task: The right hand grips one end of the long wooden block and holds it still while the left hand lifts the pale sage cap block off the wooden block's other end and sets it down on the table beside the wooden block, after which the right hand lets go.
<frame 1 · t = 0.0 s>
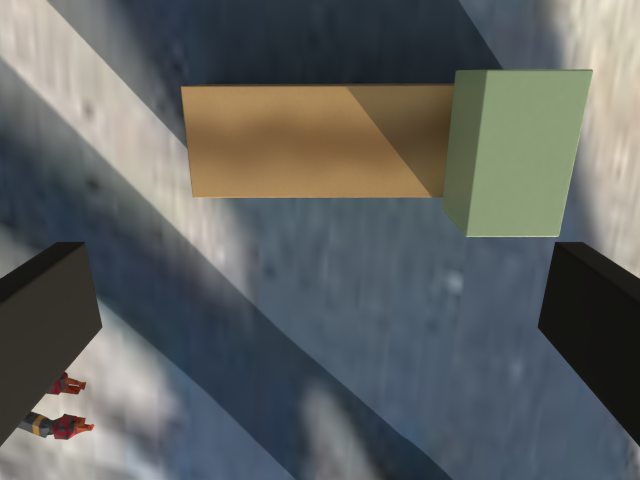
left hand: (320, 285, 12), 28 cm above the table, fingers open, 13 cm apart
wooden block: (357, 131, 38), on the table, touching sage cap block
sage cap block: (489, 143, 32), point 7 cm above the table, touching wooden block
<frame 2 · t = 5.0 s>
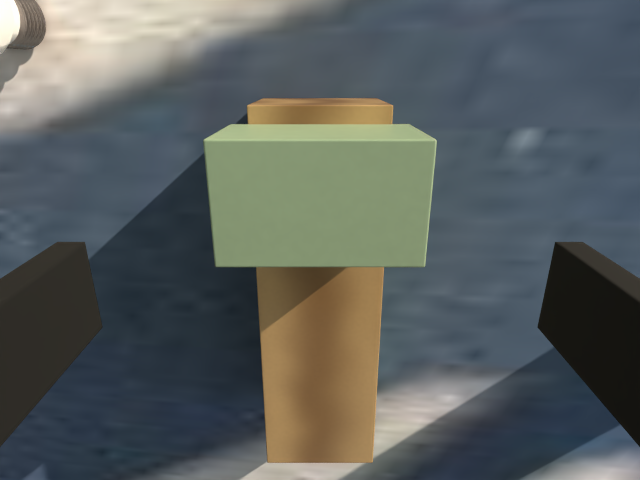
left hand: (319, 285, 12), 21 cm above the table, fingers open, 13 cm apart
wooden block: (319, 268, 35), on the table, touching sage cap block
light bulb: (14, 18, 29), on the table
sage cap block: (319, 177, 25), point 7 cm above the table, touching wooden block
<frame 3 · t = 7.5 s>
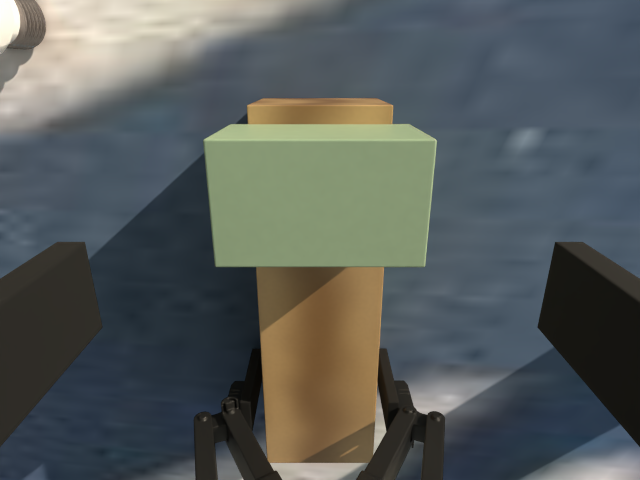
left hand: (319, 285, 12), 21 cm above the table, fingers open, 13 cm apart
wooden block: (319, 268, 35), on the table, touching sage cap block
light bulb: (14, 18, 29), on the table
sage cap block: (319, 177, 25), point 7 cm above the table, touching wooden block
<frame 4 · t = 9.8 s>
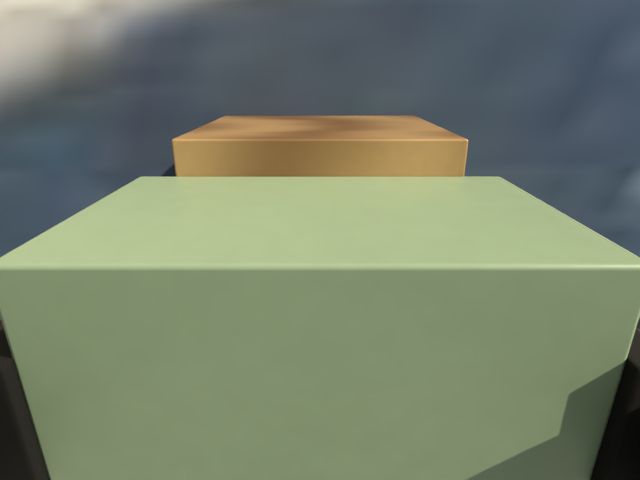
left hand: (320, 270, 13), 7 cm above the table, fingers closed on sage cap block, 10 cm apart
wooden block: (320, 372, 23), on the table, touching sage cap block
sage cap block: (319, 274, 13), point 7 cm above the table, touching left hand, wooden block
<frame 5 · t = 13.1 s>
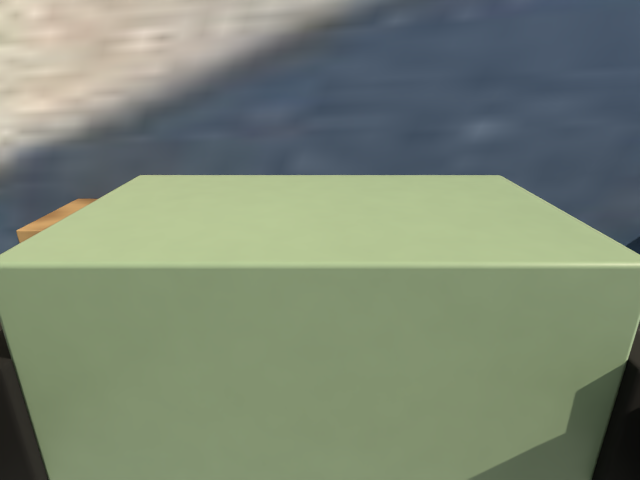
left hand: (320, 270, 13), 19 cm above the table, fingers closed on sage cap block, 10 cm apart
wooden block: (155, 347, 37), on the table
sage cap block: (319, 273, 13), point 19 cm above the table, touching left hand
when the left hand's fingers open (2 cm above the table, at t = 16.6 s): sage cap block drops 2 cm, on the table.
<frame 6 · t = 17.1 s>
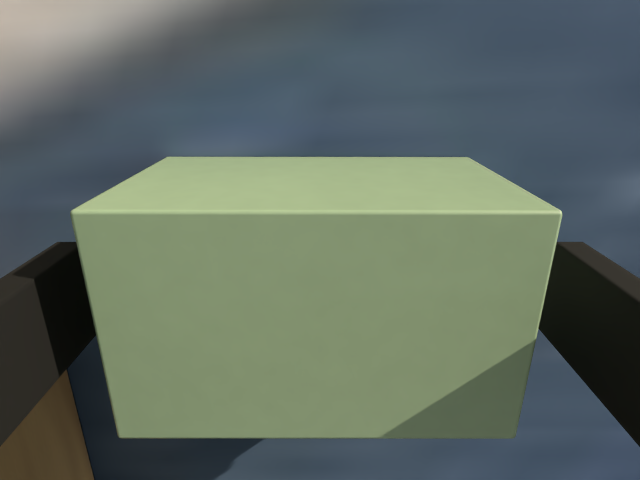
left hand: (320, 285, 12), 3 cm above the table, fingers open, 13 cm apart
sage cap block: (317, 241, 15), on the table
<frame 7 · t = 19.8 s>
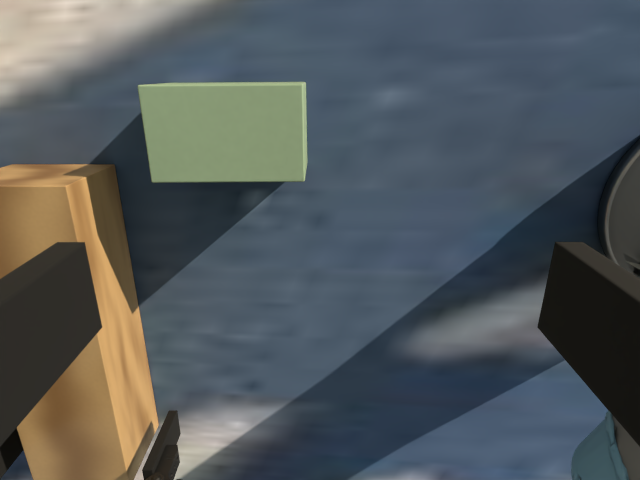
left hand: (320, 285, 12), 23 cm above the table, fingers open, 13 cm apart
wooden block: (94, 310, 39), on the table
sage cap block: (240, 124, 33), on the table
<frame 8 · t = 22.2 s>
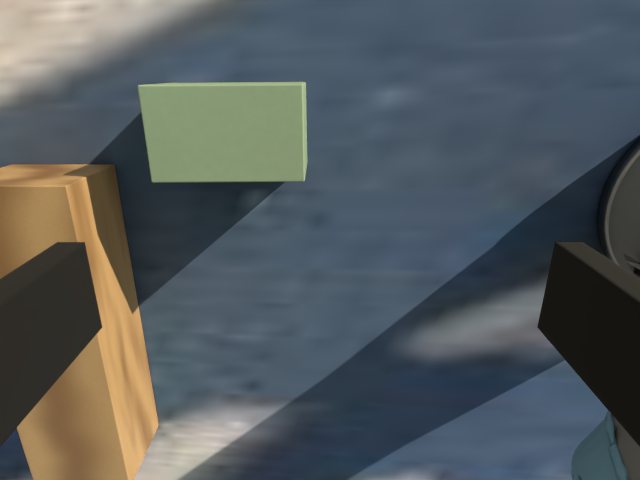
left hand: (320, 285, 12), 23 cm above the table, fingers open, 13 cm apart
wooden block: (94, 310, 39), on the table
sage cap block: (240, 124, 33), on the table
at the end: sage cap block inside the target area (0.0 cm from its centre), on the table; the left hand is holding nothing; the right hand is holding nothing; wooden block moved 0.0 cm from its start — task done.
